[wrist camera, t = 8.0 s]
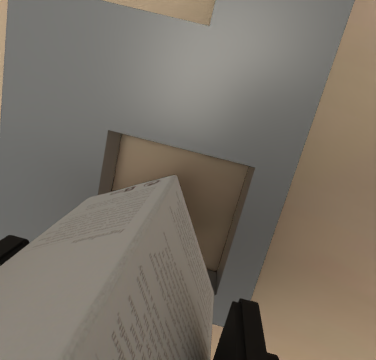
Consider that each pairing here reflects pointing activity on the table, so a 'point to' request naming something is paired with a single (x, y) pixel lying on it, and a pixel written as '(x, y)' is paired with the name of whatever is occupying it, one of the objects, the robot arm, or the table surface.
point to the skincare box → (111, 283)
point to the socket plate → (162, 107)
